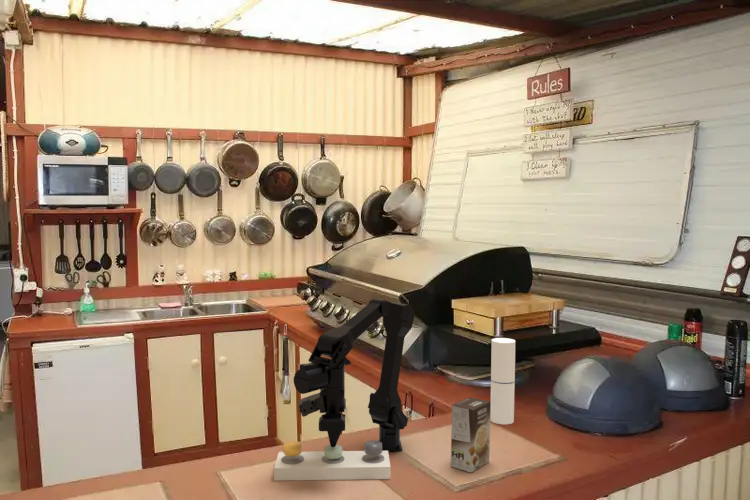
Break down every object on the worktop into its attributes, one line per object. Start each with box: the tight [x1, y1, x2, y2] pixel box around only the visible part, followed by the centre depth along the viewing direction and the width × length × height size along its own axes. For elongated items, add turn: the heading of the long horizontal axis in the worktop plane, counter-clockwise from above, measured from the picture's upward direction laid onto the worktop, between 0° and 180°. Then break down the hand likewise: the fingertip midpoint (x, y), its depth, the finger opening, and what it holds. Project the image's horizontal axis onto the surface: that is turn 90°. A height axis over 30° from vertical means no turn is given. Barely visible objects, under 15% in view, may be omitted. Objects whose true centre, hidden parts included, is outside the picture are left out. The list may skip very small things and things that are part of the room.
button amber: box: [283, 440, 303, 456], centre depth 153 cm, size 4×4×2 cm
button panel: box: [273, 450, 391, 482], centre depth 154 cm, size 10×28×3 cm, turn 92°
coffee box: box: [450, 397, 491, 473], centre depth 158 cm, size 9×6×16 cm
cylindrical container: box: [490, 337, 516, 425], centre depth 190 cm, size 7×7×25 cm
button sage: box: [323, 444, 343, 459], centre depth 154 cm, size 4×4×2 cm
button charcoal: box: [363, 440, 382, 455], centre depth 154 cm, size 4×4×2 cm
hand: (333, 446), depth 154 cm, fingers closed
